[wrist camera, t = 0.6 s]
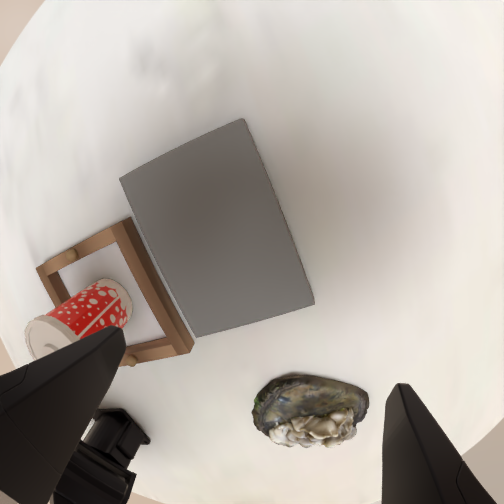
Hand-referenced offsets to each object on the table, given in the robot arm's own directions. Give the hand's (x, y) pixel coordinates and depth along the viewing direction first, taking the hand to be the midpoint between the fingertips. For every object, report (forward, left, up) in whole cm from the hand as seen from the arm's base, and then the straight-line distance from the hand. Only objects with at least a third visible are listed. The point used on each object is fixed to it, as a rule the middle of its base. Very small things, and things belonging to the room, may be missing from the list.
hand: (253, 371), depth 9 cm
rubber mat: (-4, +2, -14) cm, 15 cm away
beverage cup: (-16, 0, -14) cm, 22 cm away
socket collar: (-16, 0, -14) cm, 21 cm away
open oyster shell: (-3, -18, -15) cm, 23 cm away
